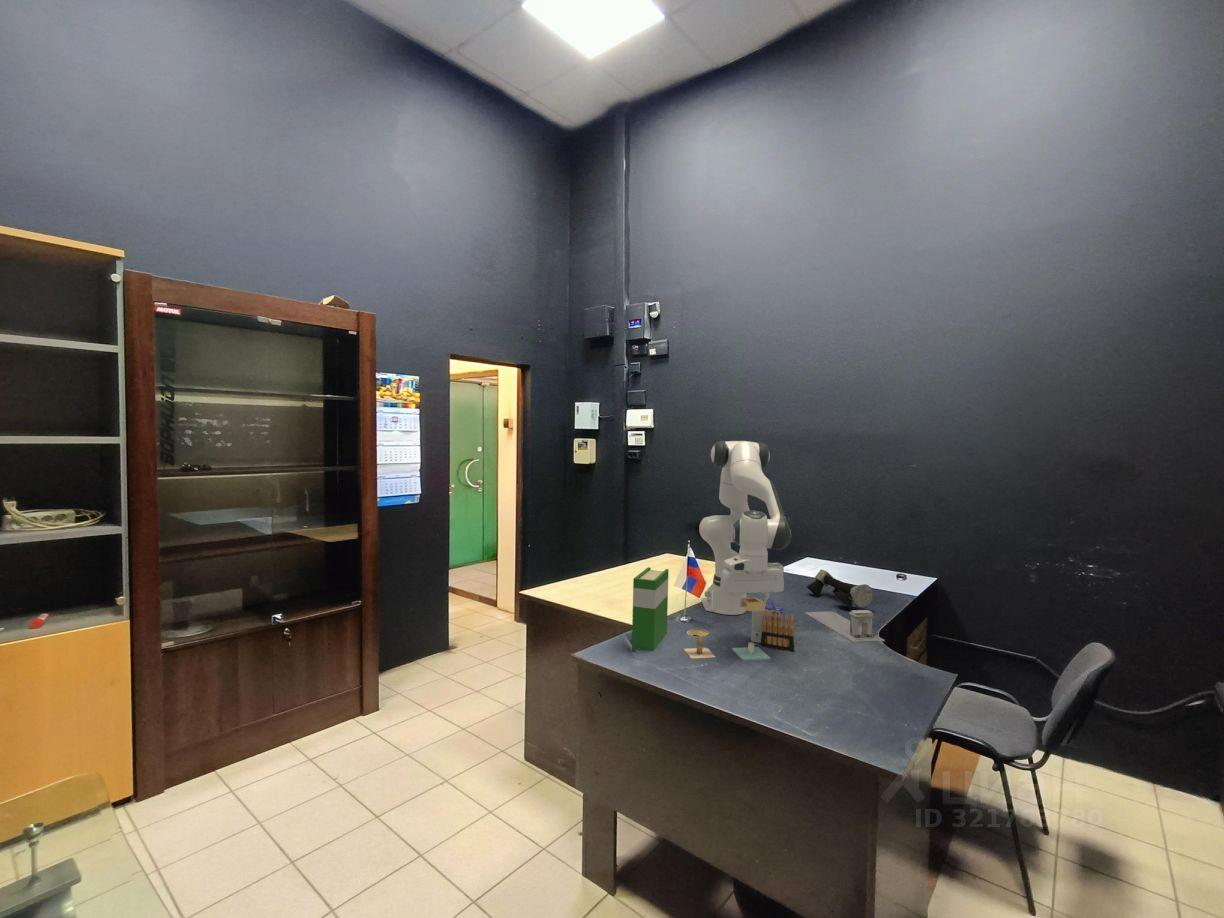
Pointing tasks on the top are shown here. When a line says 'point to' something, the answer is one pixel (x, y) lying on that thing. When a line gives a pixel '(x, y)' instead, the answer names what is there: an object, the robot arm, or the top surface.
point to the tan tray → (753, 604)
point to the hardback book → (649, 609)
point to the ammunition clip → (777, 633)
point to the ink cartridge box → (758, 619)
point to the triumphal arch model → (848, 624)
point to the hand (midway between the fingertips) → (751, 606)
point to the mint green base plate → (751, 653)
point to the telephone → (842, 590)
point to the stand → (699, 650)
